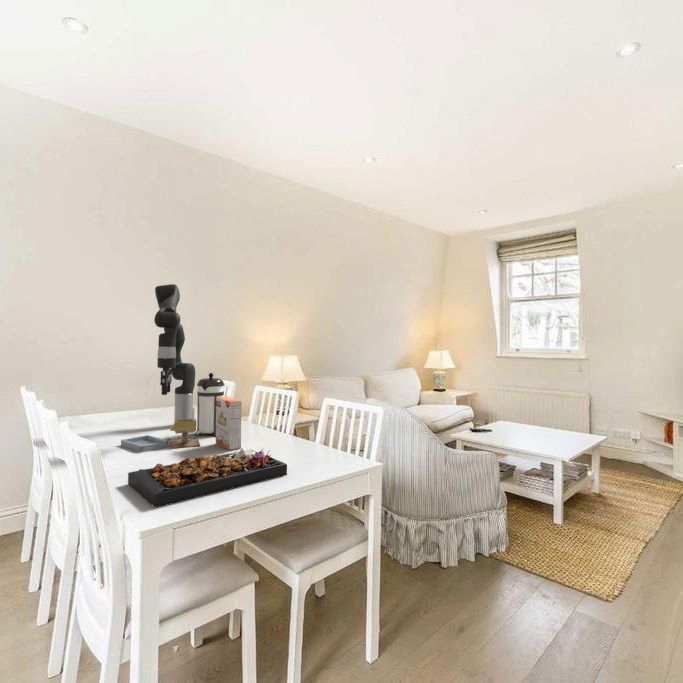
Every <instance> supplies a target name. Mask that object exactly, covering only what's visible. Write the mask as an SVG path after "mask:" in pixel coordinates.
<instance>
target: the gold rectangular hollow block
mask: <svg viewBox="0 0 683 683" xmlns="http://www.w3.org/2000/svg"><path fill="white" fill-rule="evenodd" d="M169 426H170V432H178V431H193V430H195V431H197V419H196V418H194V419H181V420H174V419H173V425H169Z"/></svg>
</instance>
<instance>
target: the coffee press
mask: <svg viewBox="0 0 683 683" xmlns="http://www.w3.org/2000/svg"><path fill="white" fill-rule="evenodd" d="M196 386H197V394H196V395H197V410H196V411H197V412H196V413H197V414H196V415H197V416H196V418H197V419H196V430H195V432H194V436H195V437H198V436H199V435H200V434H212V435H213V437H215V438H216V398H218V397H224V395H225V390H224V388H225V383H224V381H223V379H222V378H219V377H214V373H212V372H209V374H208V377H204V378H201V379H199V380H198V382H197V383H196Z"/></svg>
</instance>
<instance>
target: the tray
mask: <svg viewBox="0 0 683 683" xmlns="http://www.w3.org/2000/svg"><path fill="white" fill-rule="evenodd" d="M120 446H121V447H124V448H127V449H131V450H133V451H136V452H139V453H145V452H149V451H155V450H158V449H159V450H160V449H163V448H168V447H169V440H166V439H164V438H163V439H162V438H159V437H155V436H153V435H148V434H146V435H142V436H136V437H130V438H125V439H120Z"/></svg>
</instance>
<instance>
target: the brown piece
mask: <svg viewBox="0 0 683 683" xmlns="http://www.w3.org/2000/svg"><path fill="white" fill-rule="evenodd" d="M195 432H196V430H193V431H178V432H175V434H181V439H180V440H179V439H177V440H176V439H175V440H170V441H169V446H170V449H171V450H172V449H185V448H196V447H201V442H200V441H199V438H195V439H194V438H193V439H189V433H191V434H193V433H195Z"/></svg>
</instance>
